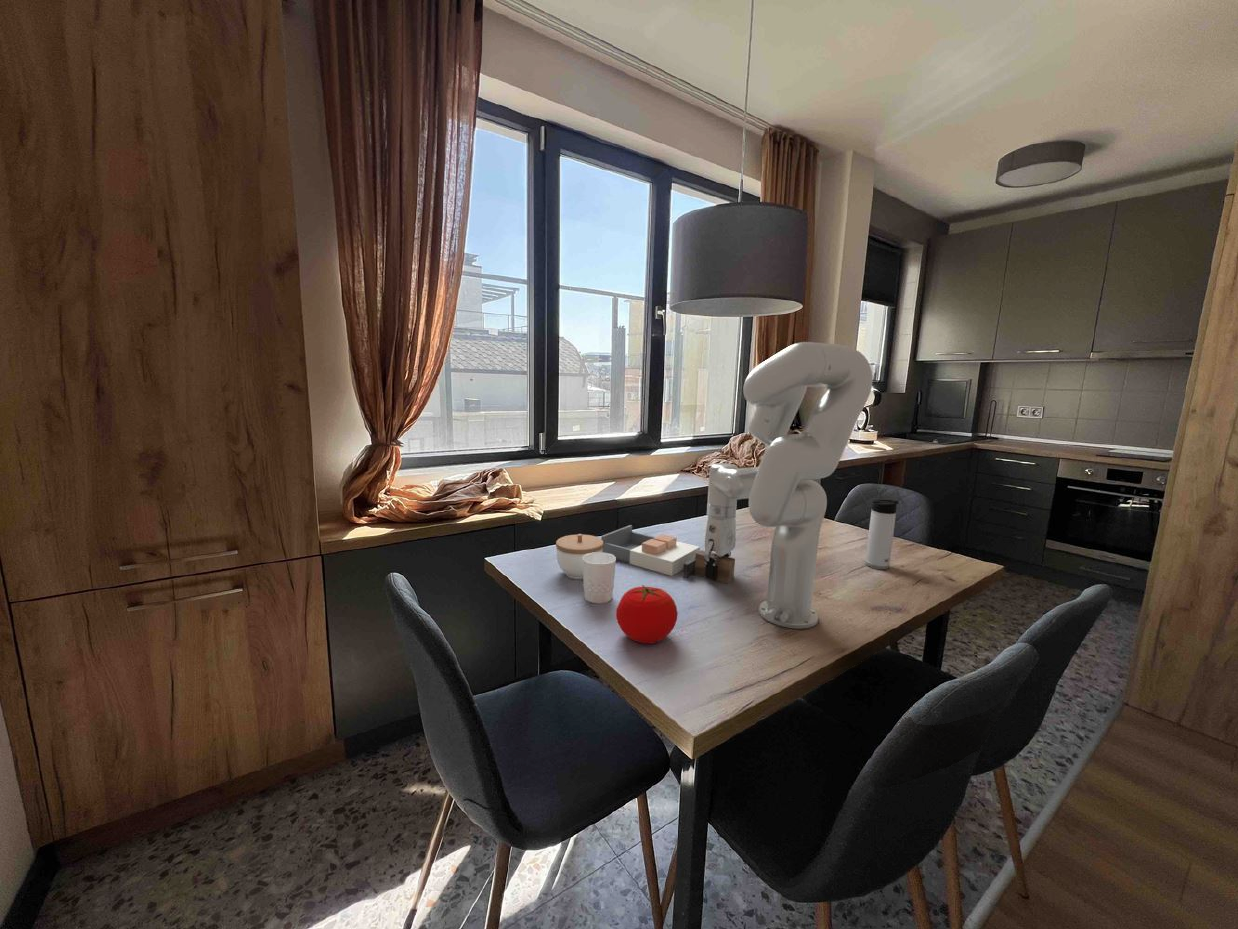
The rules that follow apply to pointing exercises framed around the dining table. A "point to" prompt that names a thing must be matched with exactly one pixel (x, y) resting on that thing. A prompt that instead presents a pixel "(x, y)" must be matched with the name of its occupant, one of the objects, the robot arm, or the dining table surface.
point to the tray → (623, 542)
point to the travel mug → (881, 533)
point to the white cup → (598, 576)
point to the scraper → (698, 567)
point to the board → (664, 558)
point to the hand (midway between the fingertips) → (717, 573)
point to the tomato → (646, 614)
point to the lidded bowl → (576, 552)
